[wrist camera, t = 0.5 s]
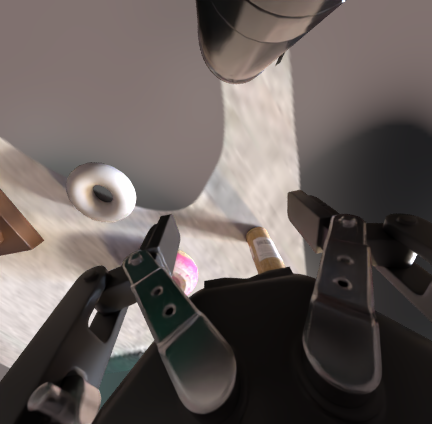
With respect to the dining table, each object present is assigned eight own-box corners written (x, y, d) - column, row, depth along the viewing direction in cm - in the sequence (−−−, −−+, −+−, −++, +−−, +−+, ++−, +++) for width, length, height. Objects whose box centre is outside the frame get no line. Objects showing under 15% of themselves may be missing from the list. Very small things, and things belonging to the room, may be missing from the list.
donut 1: (62, 176, 28) (104, 224, 32) (43, 182, 25) (94, 235, 29) (112, 148, 26) (150, 203, 31) (100, 152, 23) (144, 212, 28)
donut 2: (196, 241, 35) (195, 258, 31) (200, 285, 41) (199, 305, 37) (128, 243, 35) (117, 261, 30) (142, 287, 41) (135, 308, 37)
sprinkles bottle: (242, 242, 36) (260, 304, 24) (249, 224, 34) (272, 281, 22) (263, 245, 36) (290, 307, 25) (271, 228, 34) (305, 286, 23)
